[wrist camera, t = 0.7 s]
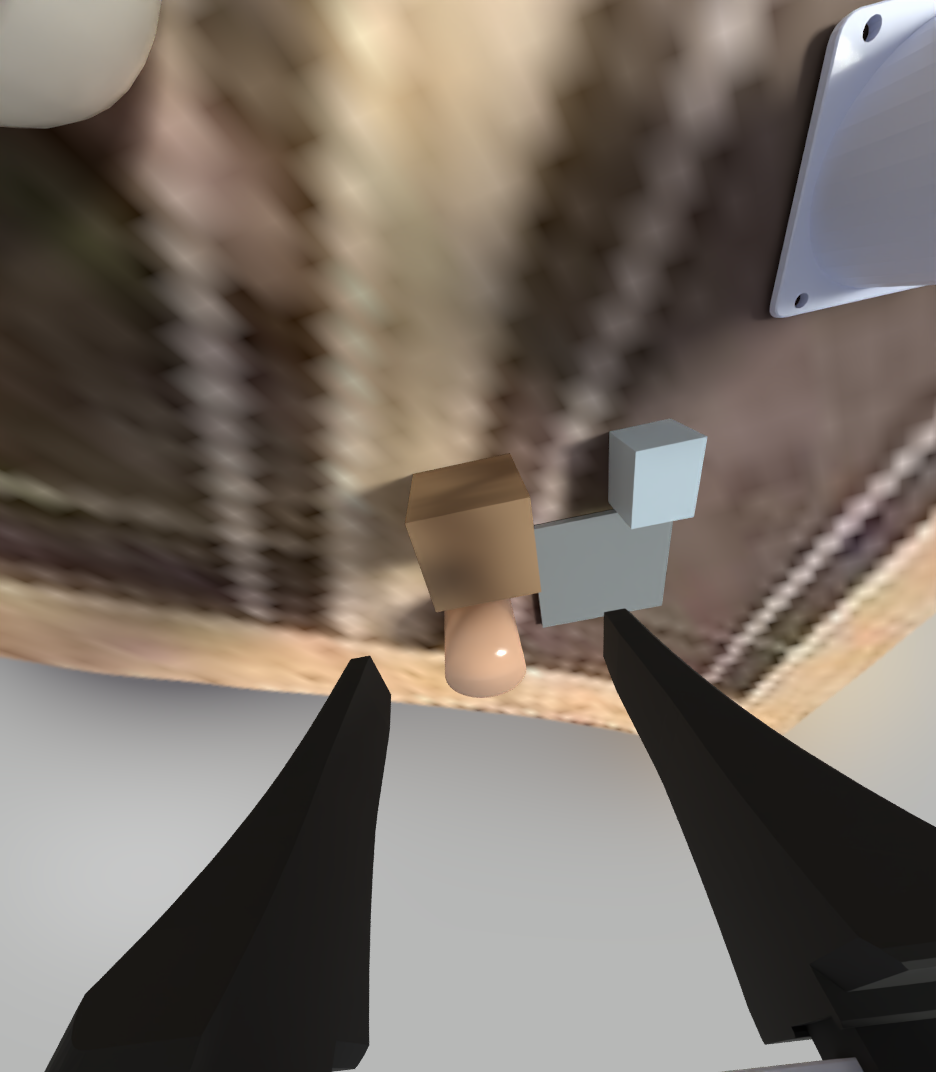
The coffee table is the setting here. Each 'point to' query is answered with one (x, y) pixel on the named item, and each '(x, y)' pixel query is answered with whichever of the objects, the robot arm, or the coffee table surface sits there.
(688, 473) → the blue plastic box
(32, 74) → the lidded jar
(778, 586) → the coffee table surface
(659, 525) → the slate coaster
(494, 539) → the walnut block
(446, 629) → the tan rounded cylinder
